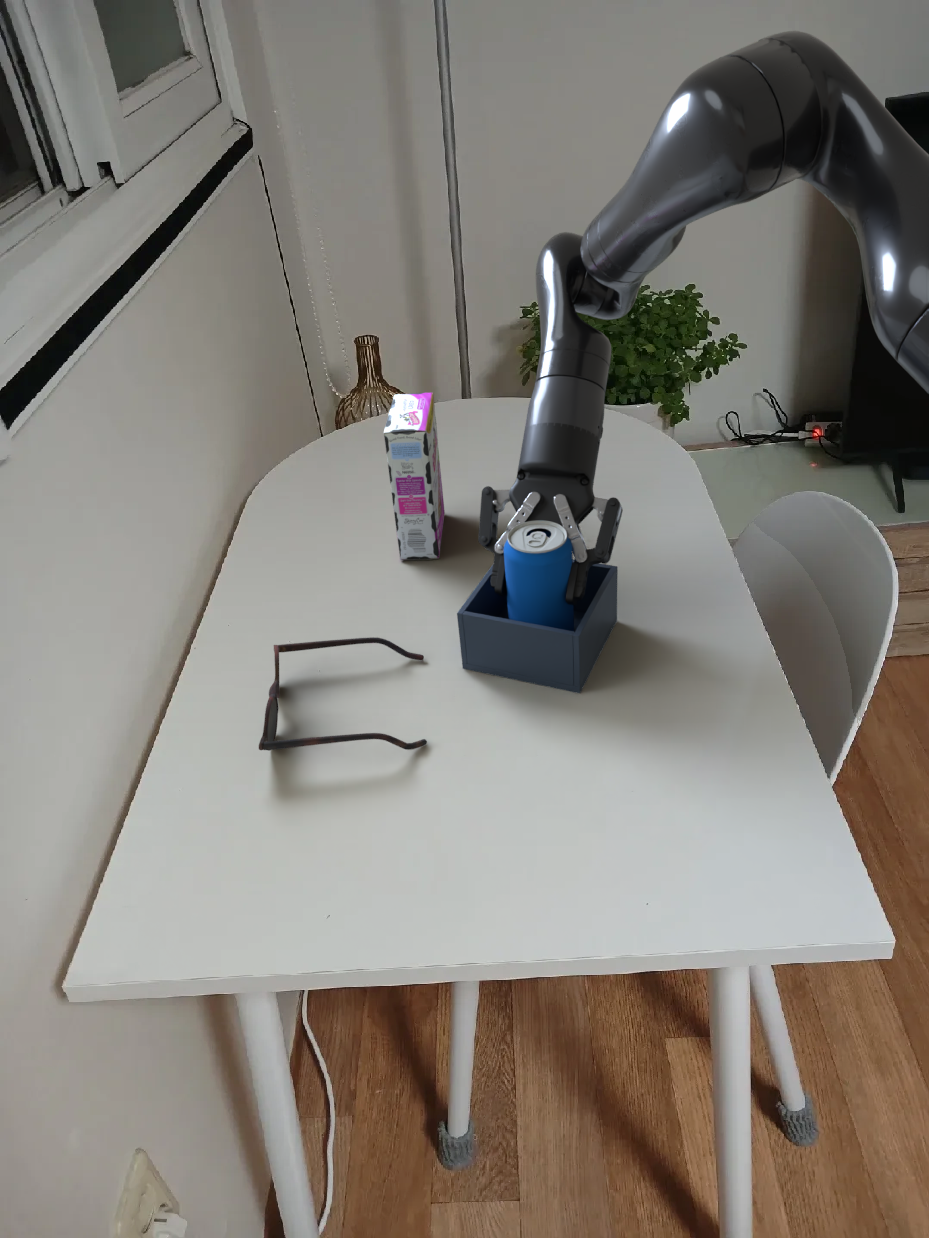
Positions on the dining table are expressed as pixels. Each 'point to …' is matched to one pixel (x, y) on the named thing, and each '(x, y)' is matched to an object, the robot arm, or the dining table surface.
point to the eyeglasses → (271, 729)
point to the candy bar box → (415, 475)
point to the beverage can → (538, 574)
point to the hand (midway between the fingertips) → (535, 598)
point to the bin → (538, 635)
